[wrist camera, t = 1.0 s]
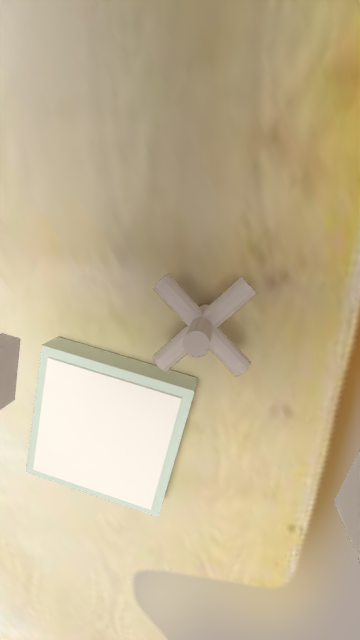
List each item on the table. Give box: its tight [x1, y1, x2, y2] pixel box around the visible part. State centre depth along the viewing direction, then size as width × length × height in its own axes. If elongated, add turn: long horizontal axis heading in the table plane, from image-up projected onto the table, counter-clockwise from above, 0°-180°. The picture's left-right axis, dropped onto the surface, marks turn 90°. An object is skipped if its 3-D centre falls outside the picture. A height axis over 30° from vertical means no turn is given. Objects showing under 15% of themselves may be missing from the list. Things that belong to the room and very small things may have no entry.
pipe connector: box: [153, 274, 257, 376], centre depth 24 cm, size 10×10×10 cm
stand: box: [26, 337, 197, 517], centre depth 31 cm, size 16×16×3 cm
